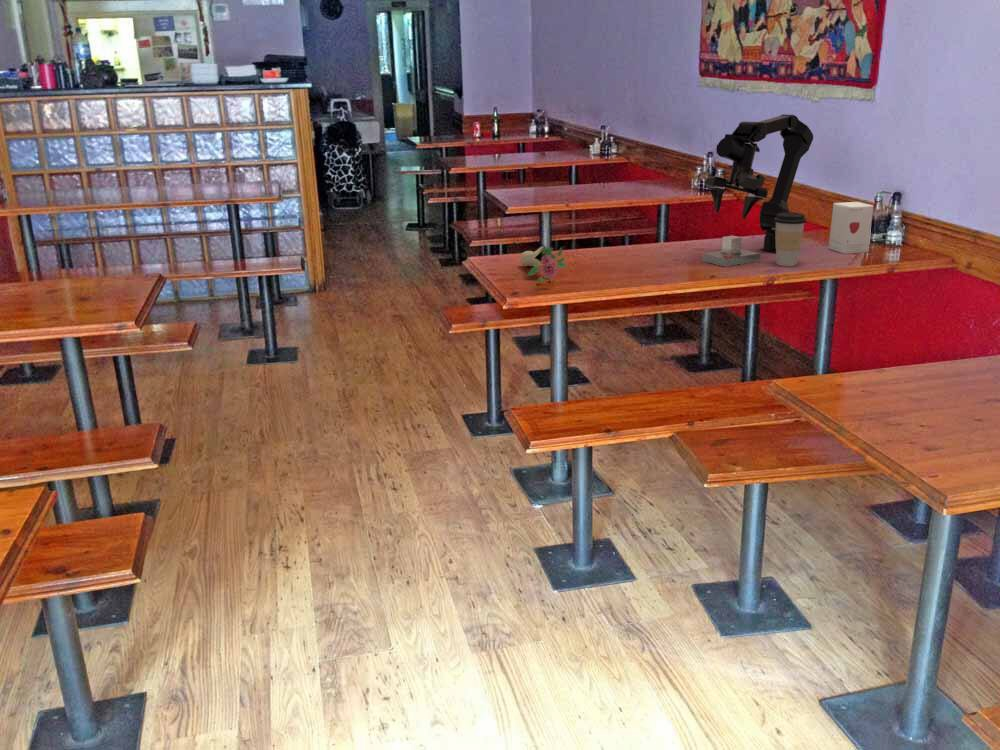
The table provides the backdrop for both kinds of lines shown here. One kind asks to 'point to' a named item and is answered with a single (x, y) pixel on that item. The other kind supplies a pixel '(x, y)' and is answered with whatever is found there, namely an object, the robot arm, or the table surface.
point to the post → (731, 245)
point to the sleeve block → (730, 258)
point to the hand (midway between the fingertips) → (730, 215)
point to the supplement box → (850, 227)
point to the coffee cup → (788, 237)
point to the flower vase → (542, 262)
